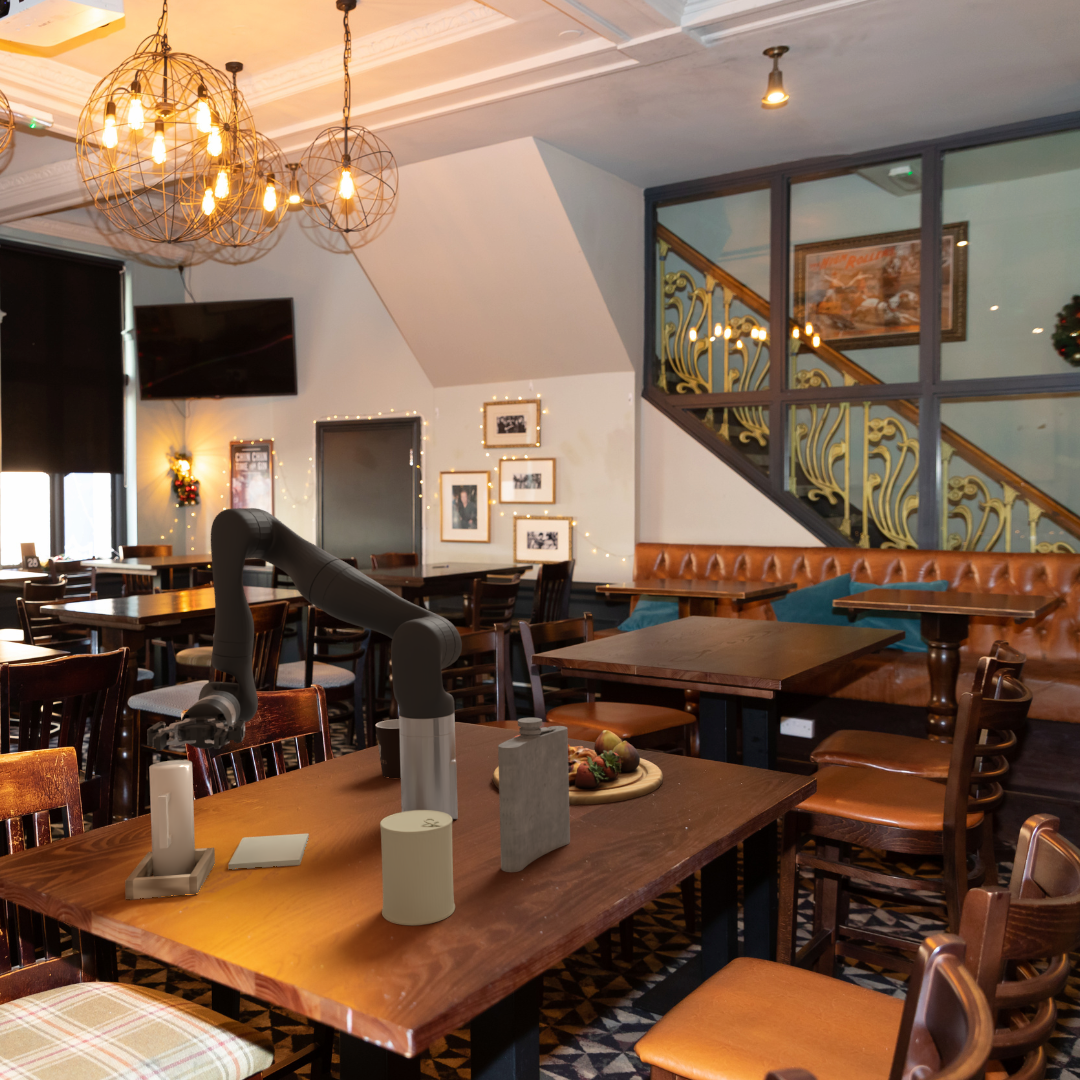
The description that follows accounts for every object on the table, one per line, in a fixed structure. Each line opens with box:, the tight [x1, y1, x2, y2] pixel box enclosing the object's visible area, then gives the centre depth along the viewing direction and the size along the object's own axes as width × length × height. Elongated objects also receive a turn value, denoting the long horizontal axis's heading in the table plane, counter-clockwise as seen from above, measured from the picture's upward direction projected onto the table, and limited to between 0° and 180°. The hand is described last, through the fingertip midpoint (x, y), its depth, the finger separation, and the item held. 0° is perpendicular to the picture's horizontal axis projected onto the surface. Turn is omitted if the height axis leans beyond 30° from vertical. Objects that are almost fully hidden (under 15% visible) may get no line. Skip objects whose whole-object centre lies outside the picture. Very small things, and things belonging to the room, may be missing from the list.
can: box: [379, 810, 456, 926], centre depth 124 cm, size 9×9×12 cm
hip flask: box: [497, 717, 571, 873], centre depth 144 cm, size 16×4×20 cm, turn 147°
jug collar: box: [124, 847, 216, 900], centre depth 136 cm, size 9×12×2 cm
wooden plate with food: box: [492, 729, 664, 805], centre depth 184 cm, size 32×32×8 cm
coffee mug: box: [375, 718, 401, 779], centre depth 193 cm, size 12×9×10 cm
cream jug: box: [148, 759, 196, 877], centre depth 136 cm, size 6×8×16 cm
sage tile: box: [227, 833, 310, 870], centre depth 147 cm, size 10×12×1 cm
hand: (187, 743), depth 148 cm, fingers open, 8 cm apart
